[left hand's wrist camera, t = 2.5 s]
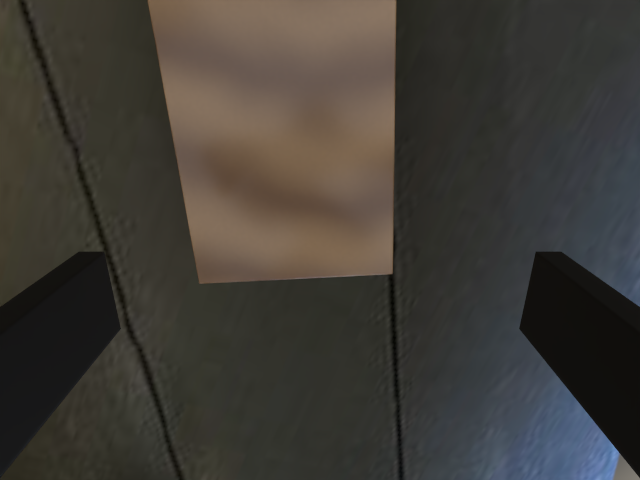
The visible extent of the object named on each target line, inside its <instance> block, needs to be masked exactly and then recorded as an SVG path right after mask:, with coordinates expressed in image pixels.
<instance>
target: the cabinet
mask: <svg viewBox="0 0 640 480" xmlns="http://www.w3.org/2000/svg"><path fill="white" fill-rule="evenodd" d="M148 5H149V11H150V16H151V22H152V27H153V33H154V38H155V44H156V49H157V55H158V60H159V66H160V71H161V77H162V82H163V87H164V93H165V98H166V104H167V109H168V115H169V120H170V126H171V131H172V137H173V142H174V148H175V153H176V159H177V164H178V170H179V175H180V181H181V186H182V192H183V197H184V203H185V208H186V213H187V219H188V224H189V230H190V235H191V241H192V246H193V252H194V257H195V263H196V268H197V274H198V279H199V283H200V284H202V283H222V282H242V281H262V280H282V279H303V278H323V277H343V276H363V275H383V274H392V273H393V218H394V142H395V66H396V0H148Z"/></svg>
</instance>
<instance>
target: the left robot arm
mask: <svg viewBox="0 0 640 480" xmlns="http://www.w3.org/2000/svg"><path fill="white" fill-rule="evenodd" d="M120 329H121V328H120V324H119V319H118V314H117V310H116V305H115V300H114V296H113V291H112V286H111V282H110V277H109V272H108V268H107V263H106V258H105V254H104V252H78V253H76V254H75V255H74V256H72V257H71V258H69V259H68V260H66V261H65V262H64V263H62V264H61V265H59V266H58V267H57V268H55V269H54V270H52V271H51V272H49V273H48V274H47V275H45V276H44V277H42V278H41V279H39V280H38V281H37V282H35V283H34V284H32V285H31V286H30V287H28V288H27V289H25V290H24V291H22V292H21V293H20V294H18V295H17V296H15V297H14V298H12V299H11V300H10V301H8V302H7V303H5V304H4V305H3V306H1V307H0V477H1V476H2V475H3V474H4V473H5V471H6V470H7V469H8V468H9V466H10V465H11V464H12V463H13V461H14V460H15V459H16V458H17V456H18V455H19V454H20V453H21V451H22V450H23V449H24V448H25V447H26V445H27V444H28V443H29V442H30V440H31V439H32V438H33V437H34V435H35V434H36V433H37V432H38V430H39V429H40V428H41V427H42V425H43V424H44V423H45V422H46V421H47V419H48V418H49V417H50V416H51V414H52V413H53V412H54V411H55V409H56V408H57V407H58V406H59V404H60V403H61V402H62V401H63V399H64V398H65V397H66V396H67V395H68V393H69V392H70V391H71V390H72V388H73V387H74V386H75V385H76V383H77V382H78V381H79V380H80V378H81V377H82V376H83V375H84V373H85V372H86V371H87V370H88V369H89V367H90V366H91V365H92V364H93V362H94V361H95V360H96V359H97V357H98V356H99V355H100V354H101V352H102V351H103V350H104V349H105V348H106V346H107V345H108V344H109V343H110V341H111V340H112V339H113V338H114V336H115V335H116V334H117V333H118V331H119V330H120ZM519 329H520V330H521V331H522V333H523V334H524V335H525V336H526V338H527V339H528V340H529V341H530V343H531V344H532V345H533V346H534V348H535V349H536V350H537V351H538V352H539V354H540V355H541V356H542V357H543V359H544V360H545V361H546V362H547V364H548V365H549V366H550V367H551V369H552V370H553V371H554V372H555V373H556V375H557V376H558V377H559V378H560V380H561V381H562V382H563V383H564V385H565V386H566V387H567V388H568V390H569V391H570V392H571V393H572V395H573V396H574V397H575V398H576V399H577V401H578V402H579V403H580V404H581V406H582V407H583V408H584V409H585V411H586V412H587V413H588V414H589V416H590V417H591V418H592V419H593V421H594V422H595V423H596V424H597V425H598V427H599V428H600V429H601V430H602V432H603V433H604V434H605V435H606V437H607V438H608V439H609V440H610V442H611V443H612V444H613V445H614V447H615V448H616V449H617V450H618V451H619V453H620V454H621V455H622V456H623V458H624V459H625V460H626V461H627V463H628V464H629V465H630V466H631V468H632V469H633V470H634V471H635V472H636V474H637V475H638V476H639V477H640V307H639V306H637V305H636V304H635V303H633V302H632V301H630V300H629V299H628V298H626V297H625V296H623V295H622V294H620V293H619V292H618V291H616V290H615V289H613V288H612V287H610V286H609V285H608V284H606V283H605V282H603V281H602V280H601V279H599V278H598V277H596V276H595V275H593V274H592V273H591V272H589V271H588V270H586V269H585V268H583V267H582V266H581V265H579V264H578V263H576V262H575V261H574V260H572V259H571V258H569V257H568V256H566V255H565V254H564V253H562V252H536V254H535V258H534V263H533V268H532V272H531V277H530V282H529V286H528V291H527V296H526V300H525V305H524V310H523V314H522V319H521V324H520V328H519Z"/></svg>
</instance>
